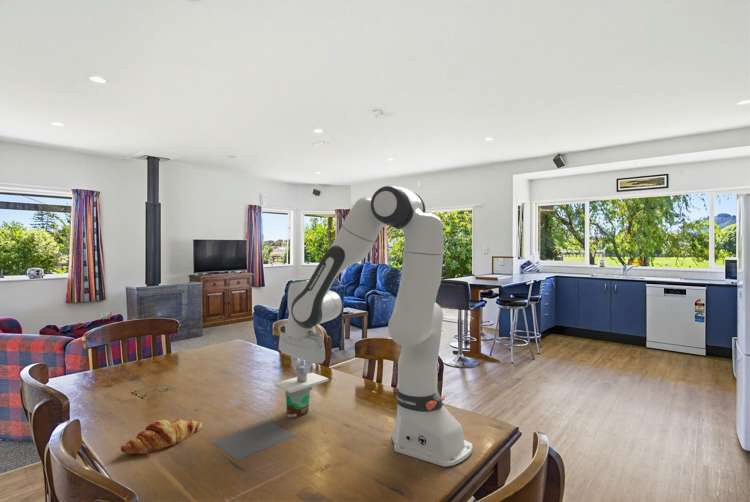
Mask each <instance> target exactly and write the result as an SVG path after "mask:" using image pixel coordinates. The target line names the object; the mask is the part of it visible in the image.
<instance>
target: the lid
mask: <svg viewBox="0 0 750 502" xmlns="http://www.w3.org/2000/svg"><path fill="white" fill-rule="evenodd" d="M305 366H306V365H301V366H299V367H297V370H296V376H295V377H292V378H287V379H284V380H281V381H278V382H275V383H274V387H275V388H278V389H280V390H282V391H285V392H286V391H287V392H290V393H292V392H296V391H299V390H302V389H305V388H308V387H311V386H312V387H313V386H317V385H320V384H323V383H326V382H329V381H330V379H329V377H326V376H323V375H320V374H317V373H314V372H310V373H309V374H305V373H303V368H305Z"/></svg>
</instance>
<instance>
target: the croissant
mask: <svg viewBox="0 0 750 502" xmlns="http://www.w3.org/2000/svg"><path fill="white" fill-rule="evenodd" d="M202 428H203V422H201V421H200V422H198V421H195V420H193V419H191V420H189V421H187V420H183V419H181V418H177V419H175V420H172V422H171V421H168V420H166V419H160V420H157V421H153V422H151V423H150V424H148V425H147V426H146V427H145V430H142V431H140V432H139V433H137V435H136V437H135V438H131V439H130V440H128V441H127V442H126V443H125V444H124V445H121V446H120V451H121V452H122V453H123V454H131V455H132V454H137V455H147V454H150V452H157V451H159V450H162V449H163V450H164V449H165V448H169V447H172V446H175V445H177V444H180V443H181V442H183V441H184V440H185V439H187V438H189V437H191V436H192V435H193V434H196V433H198V432H199V431H200V430H201V429H202Z"/></svg>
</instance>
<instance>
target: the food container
mask: <svg viewBox="0 0 750 502" xmlns="http://www.w3.org/2000/svg"><path fill="white" fill-rule="evenodd" d="M312 389H313V386H311V387H308V388H305V389H302V390H299V391H296V392H292V393H290V392H287V391H285V392H284V393H285V394H284V395H285V401H286V403H285V404H286V405H285V406H286V418H288V419H290V418H291V419H292V418H299V417H303V416H305V415H307V414H308V412H309V410H310V409H309V406H310V395H311V391H312Z"/></svg>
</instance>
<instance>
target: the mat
mask: <svg viewBox="0 0 750 502" xmlns="http://www.w3.org/2000/svg"><path fill="white" fill-rule="evenodd" d="M294 437H296V434H293V433H291V432H290V431H288V430H286V429H284V428H283V427H280V426H279V425H277V424H275V422H274V423H273V422H272V421H271V420H268V421H266V422H262V423H259V424H257V425H253V426H251V427H248V428H245V429H243V430H240V431H238V432H235V433H233V434H229V435H227V436H223V437H220V438H218V439H216V440H212V441H211V443H212V444H214V445H215V446H217V447H218V448H219V449H220V450H222V451H223V452H224V453H226V454H227V455H228V456H230V457H231V458H232V459H233V460H235V461H238V460H241V459H243V458H247V457H248V456H251V455H254V454H255V453H259V452H261V451H263V450H265V449H268V448H269V447H272V446H275V445H277V444H279V443H282V442H284V441H286V440H289V439H291V438H294Z"/></svg>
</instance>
